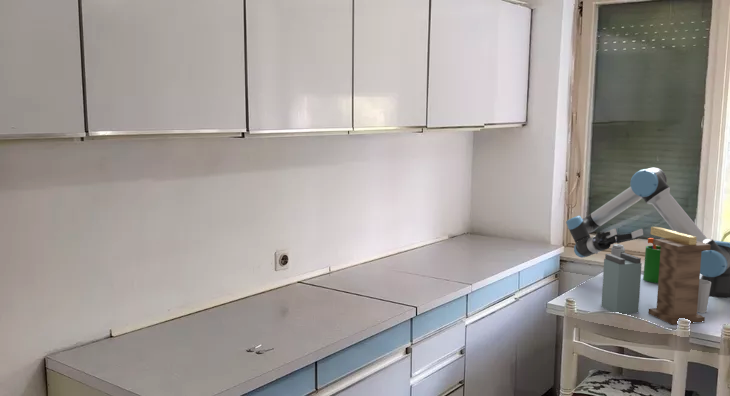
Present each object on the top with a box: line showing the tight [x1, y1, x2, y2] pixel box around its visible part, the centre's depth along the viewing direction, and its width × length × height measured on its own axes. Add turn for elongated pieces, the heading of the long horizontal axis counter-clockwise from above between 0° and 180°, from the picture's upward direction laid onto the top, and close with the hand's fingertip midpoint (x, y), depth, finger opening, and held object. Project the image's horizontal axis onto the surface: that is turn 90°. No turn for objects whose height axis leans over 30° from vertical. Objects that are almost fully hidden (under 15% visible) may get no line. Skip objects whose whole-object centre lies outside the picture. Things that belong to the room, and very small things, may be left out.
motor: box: [642, 237, 661, 284], centre depth 305 cm, size 10×9×20 cm
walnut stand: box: [648, 238, 711, 326], centre depth 249 cm, size 14×14×30 cm
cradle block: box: [600, 252, 643, 314], centre depth 259 cm, size 10×10×22 cm
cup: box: [697, 278, 711, 314], centre depth 259 cm, size 8×8×12 cm
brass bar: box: [650, 226, 697, 245], centre depth 251 cm, size 22×3×3 cm, turn 13°
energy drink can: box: [610, 243, 626, 258], centre depth 313 cm, size 6×6×15 cm
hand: (629, 231), depth 279 cm, fingers open, 13 cm apart
